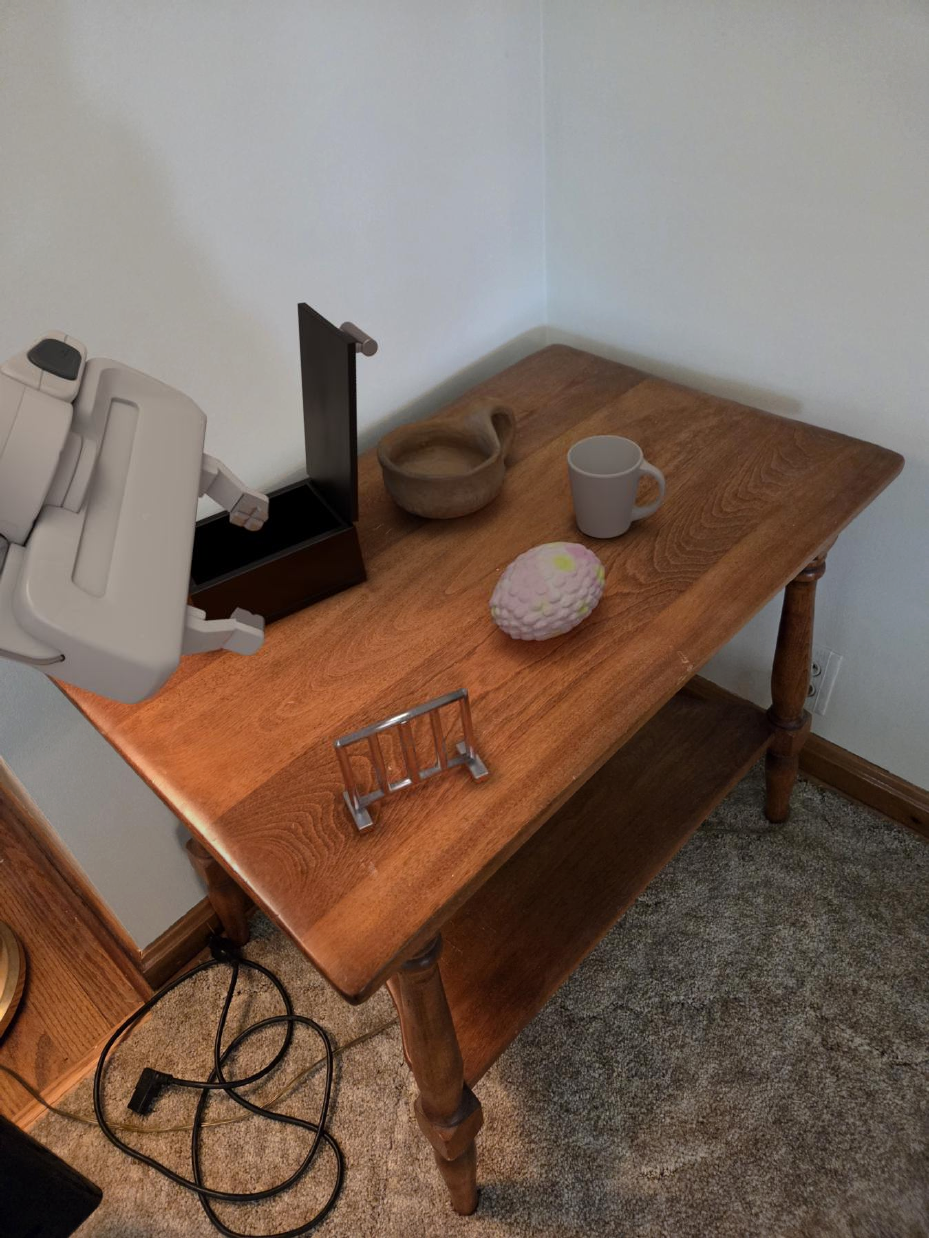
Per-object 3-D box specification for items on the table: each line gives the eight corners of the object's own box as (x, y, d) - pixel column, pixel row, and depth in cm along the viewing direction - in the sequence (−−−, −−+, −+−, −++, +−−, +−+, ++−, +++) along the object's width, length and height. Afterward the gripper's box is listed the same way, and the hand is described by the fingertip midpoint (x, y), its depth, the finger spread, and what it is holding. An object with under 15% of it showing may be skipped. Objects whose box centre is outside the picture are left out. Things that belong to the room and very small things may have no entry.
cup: (578, 498, 100) (577, 431, 95) (669, 510, 97) (674, 441, 91) (559, 539, 95) (557, 471, 89) (654, 553, 92) (659, 483, 86)
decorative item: (461, 613, 81) (520, 518, 78) (497, 601, 91) (551, 517, 88) (543, 672, 79) (607, 578, 76) (570, 653, 89) (628, 569, 87)
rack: (360, 835, 70) (339, 762, 64) (343, 798, 73) (321, 725, 67) (489, 778, 73) (481, 703, 67) (468, 744, 76) (458, 670, 70)
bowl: (430, 428, 111) (442, 358, 104) (531, 476, 109) (551, 408, 101) (350, 506, 100) (357, 435, 93) (460, 563, 97) (476, 494, 90)
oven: (211, 649, 88) (189, 595, 83) (176, 590, 95) (155, 536, 90) (367, 580, 93) (355, 525, 88) (323, 529, 100) (310, 476, 96)
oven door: (347, 343, 77) (393, 336, 79) (297, 303, 84) (340, 297, 86) (351, 523, 88) (391, 512, 90) (306, 473, 95) (344, 465, 97)
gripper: (-28, 594, 35) (288, 694, 43) (61, 310, 48) (291, 423, 56) (-72, 680, 39) (226, 758, 46) (22, 393, 52) (243, 490, 59)
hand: (262, 573), depth 51 cm, fingers open, 8 cm apart
